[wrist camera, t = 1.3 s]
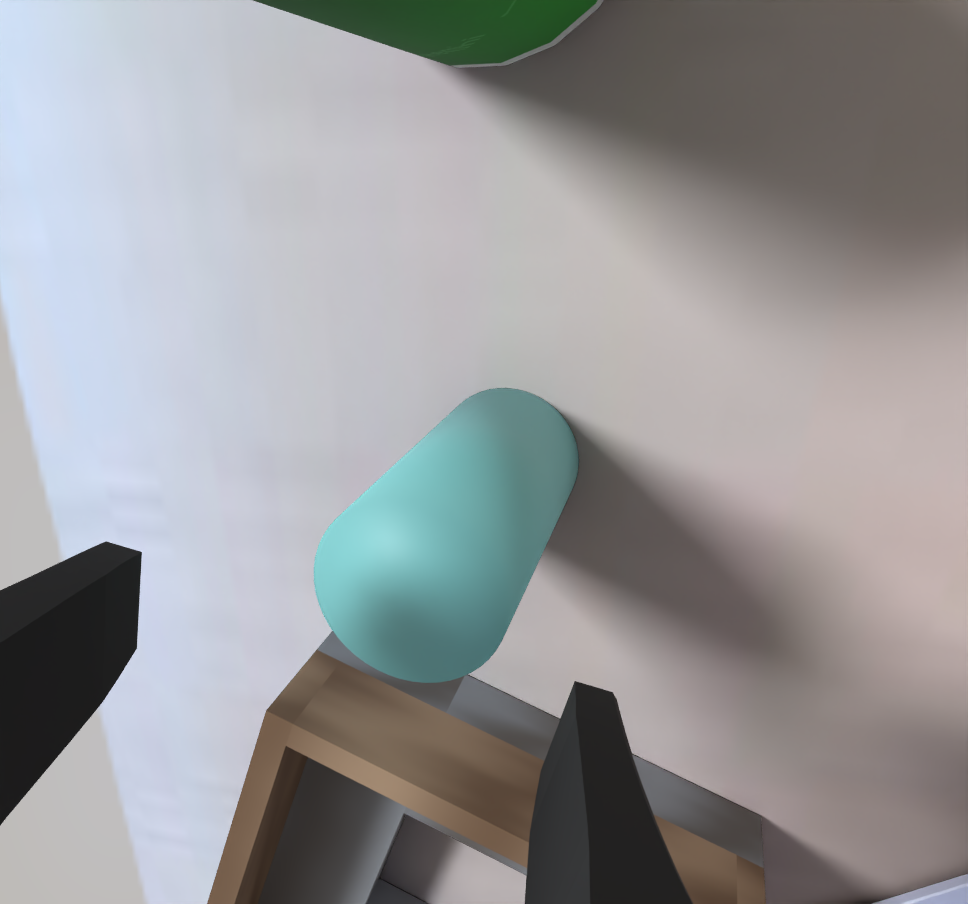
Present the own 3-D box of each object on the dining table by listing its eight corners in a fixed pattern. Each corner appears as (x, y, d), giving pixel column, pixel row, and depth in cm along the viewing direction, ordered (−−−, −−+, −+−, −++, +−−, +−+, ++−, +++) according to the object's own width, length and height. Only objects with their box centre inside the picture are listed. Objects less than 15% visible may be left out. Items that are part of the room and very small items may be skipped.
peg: (607, 478, 23) (551, 629, 15) (495, 546, 24) (397, 712, 17) (520, 359, 22) (421, 458, 15) (412, 437, 24) (276, 559, 17)
